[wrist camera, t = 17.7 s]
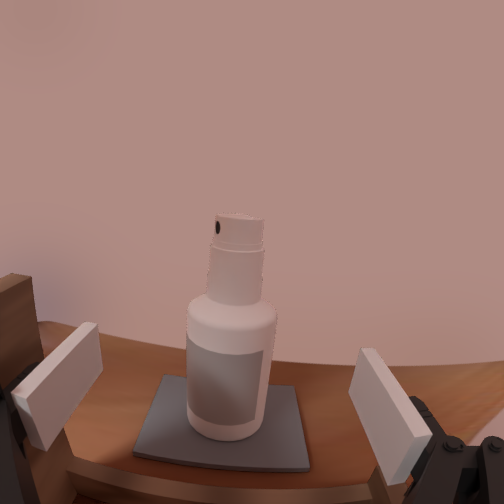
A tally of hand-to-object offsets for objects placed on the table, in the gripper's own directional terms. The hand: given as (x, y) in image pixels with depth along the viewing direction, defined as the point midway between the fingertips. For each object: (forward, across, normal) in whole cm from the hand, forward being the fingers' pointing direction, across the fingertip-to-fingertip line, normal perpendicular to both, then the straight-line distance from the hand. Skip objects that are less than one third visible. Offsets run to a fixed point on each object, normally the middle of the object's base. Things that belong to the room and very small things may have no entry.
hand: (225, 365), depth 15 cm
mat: (+10, 0, -13) cm, 16 cm away
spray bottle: (+10, 0, -12) cm, 15 cm away
